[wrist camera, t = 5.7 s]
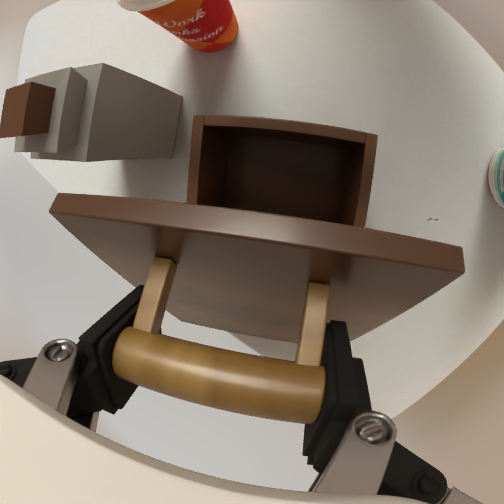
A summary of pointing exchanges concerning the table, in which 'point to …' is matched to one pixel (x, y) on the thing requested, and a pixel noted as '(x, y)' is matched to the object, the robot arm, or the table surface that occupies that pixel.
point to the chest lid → (249, 293)
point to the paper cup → (191, 20)
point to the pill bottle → (497, 176)
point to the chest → (281, 167)
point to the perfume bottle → (91, 116)
